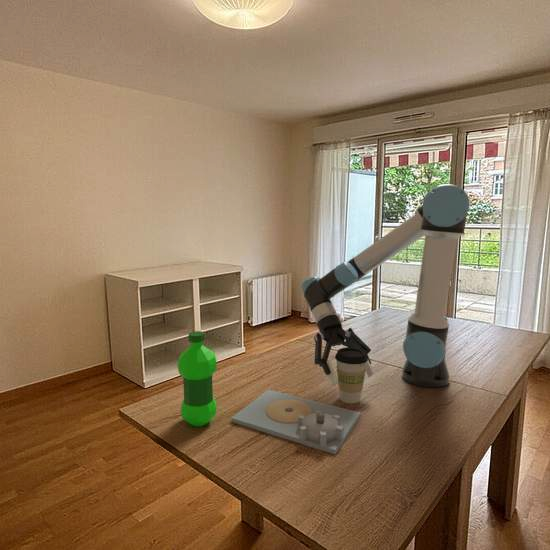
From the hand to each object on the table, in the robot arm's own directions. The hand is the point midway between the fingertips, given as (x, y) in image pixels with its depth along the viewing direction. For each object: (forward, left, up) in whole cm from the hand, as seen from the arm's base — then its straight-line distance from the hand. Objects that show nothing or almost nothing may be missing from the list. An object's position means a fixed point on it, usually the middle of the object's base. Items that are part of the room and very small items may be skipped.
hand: (354, 379), depth 117 cm
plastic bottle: (+33, +32, -7) cm, 47 cm away
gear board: (+10, +18, -7) cm, 22 cm away
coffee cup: (+1, -1, -7) cm, 7 cm away
